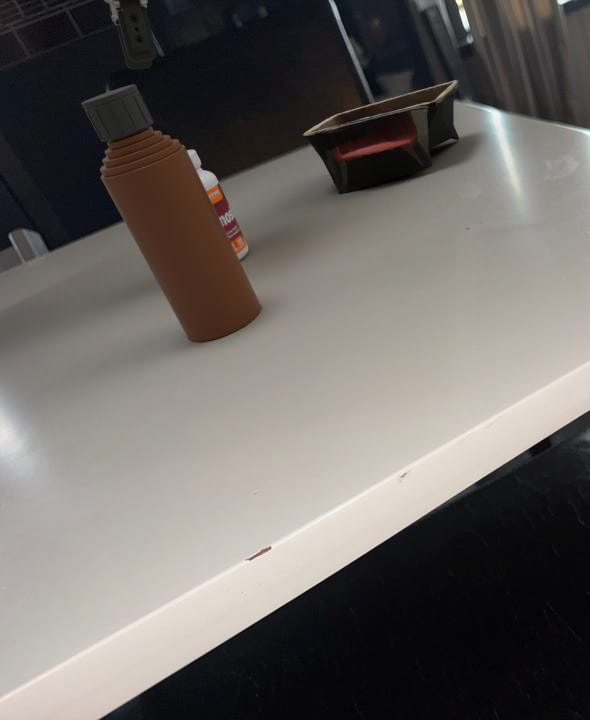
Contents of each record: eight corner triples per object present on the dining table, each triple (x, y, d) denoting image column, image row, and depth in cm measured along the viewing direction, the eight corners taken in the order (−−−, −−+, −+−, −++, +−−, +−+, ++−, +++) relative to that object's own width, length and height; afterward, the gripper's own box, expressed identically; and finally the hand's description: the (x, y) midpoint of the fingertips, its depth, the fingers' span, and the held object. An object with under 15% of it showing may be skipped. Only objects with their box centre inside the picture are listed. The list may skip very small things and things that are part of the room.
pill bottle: (242, 265, 76) (191, 158, 70) (184, 282, 76) (129, 177, 71) (256, 242, 81) (209, 141, 76) (202, 258, 82) (152, 159, 76)
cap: (92, 146, 55) (71, 107, 53) (114, 133, 58) (95, 96, 57) (142, 130, 54) (122, 91, 53) (161, 118, 58) (143, 80, 56)
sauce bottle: (177, 349, 62) (51, 123, 53) (201, 314, 67) (90, 104, 58) (251, 329, 61) (136, 96, 52) (269, 295, 66) (167, 79, 57)
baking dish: (373, 171, 101) (332, 101, 96) (492, 122, 93) (455, 43, 88) (331, 223, 90) (284, 147, 85) (463, 173, 82) (418, 86, 77)
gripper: (45, -124, 66) (97, 75, 72) (28, -184, 54) (93, 61, 59) (137, -125, 69) (181, 67, 74) (141, -182, 57) (193, 52, 62)
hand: (142, 64), depth 67 cm, fingers open, 8 cm apart
